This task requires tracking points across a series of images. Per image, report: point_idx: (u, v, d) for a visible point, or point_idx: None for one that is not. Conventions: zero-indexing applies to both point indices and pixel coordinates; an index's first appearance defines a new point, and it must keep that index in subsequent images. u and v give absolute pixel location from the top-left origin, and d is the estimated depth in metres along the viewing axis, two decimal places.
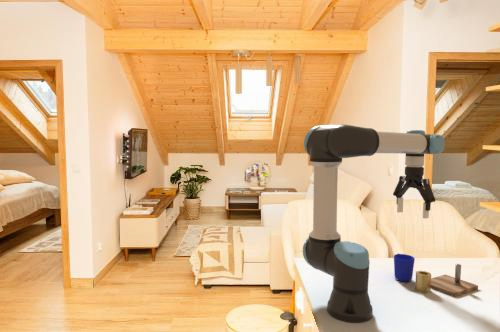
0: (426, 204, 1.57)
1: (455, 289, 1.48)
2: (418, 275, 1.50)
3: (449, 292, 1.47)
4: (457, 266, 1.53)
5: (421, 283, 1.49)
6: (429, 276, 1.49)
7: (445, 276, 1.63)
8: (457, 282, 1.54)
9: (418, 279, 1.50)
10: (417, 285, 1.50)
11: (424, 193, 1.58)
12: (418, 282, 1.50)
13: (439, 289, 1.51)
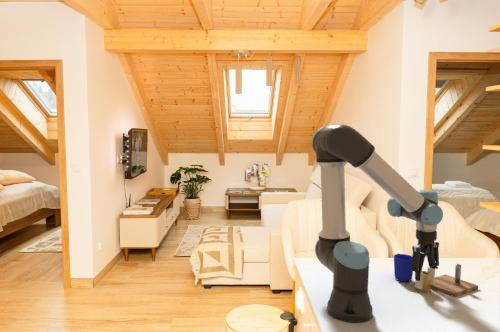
0: None
1: (455, 289, 1.48)
2: None
3: (449, 292, 1.47)
4: (457, 266, 1.53)
5: None
6: (429, 276, 1.49)
7: (445, 276, 1.63)
8: (457, 282, 1.54)
9: None
10: None
11: None
12: None
13: (439, 289, 1.51)
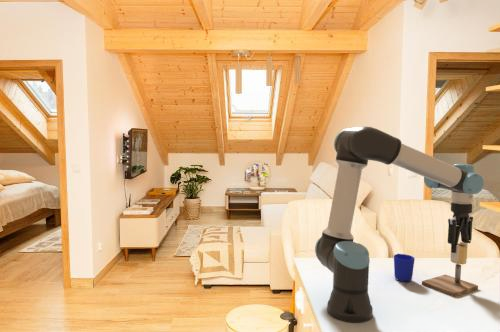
0: None
1: (455, 289, 1.48)
2: None
3: (449, 292, 1.47)
4: (457, 266, 1.53)
5: None
6: (465, 248, 1.51)
7: (445, 276, 1.63)
8: (457, 282, 1.54)
9: None
10: None
11: None
12: None
13: (439, 289, 1.51)
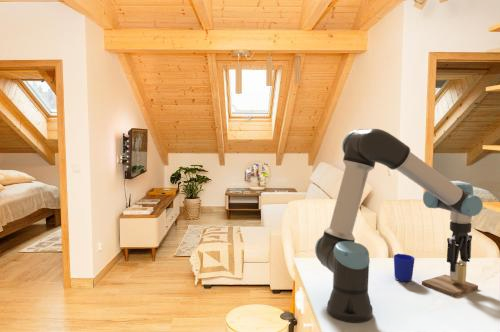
0: None
1: (455, 289, 1.48)
2: None
3: (449, 292, 1.47)
4: None
5: None
6: (464, 267, 1.52)
7: (445, 276, 1.63)
8: None
9: None
10: None
11: None
12: None
13: (439, 289, 1.51)
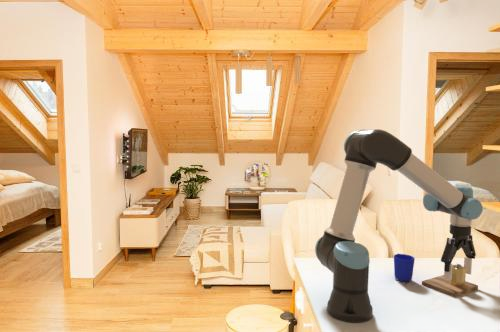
0: None
1: (455, 289, 1.48)
2: (453, 269, 1.53)
3: (449, 292, 1.47)
4: (457, 266, 1.53)
5: (456, 276, 1.52)
6: (464, 270, 1.52)
7: None
8: None
9: (453, 273, 1.53)
10: (452, 279, 1.54)
11: None
12: (453, 276, 1.53)
13: (439, 289, 1.51)
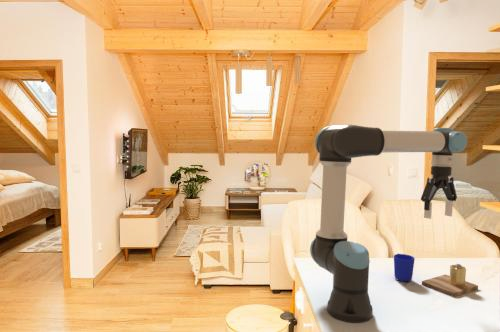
0: None
1: (455, 289, 1.48)
2: (453, 269, 1.53)
3: (449, 292, 1.47)
4: (457, 266, 1.53)
5: (456, 276, 1.52)
6: (464, 270, 1.52)
7: (445, 276, 1.63)
8: None
9: (453, 273, 1.53)
10: (452, 279, 1.54)
11: None
12: (453, 276, 1.53)
13: (439, 289, 1.51)
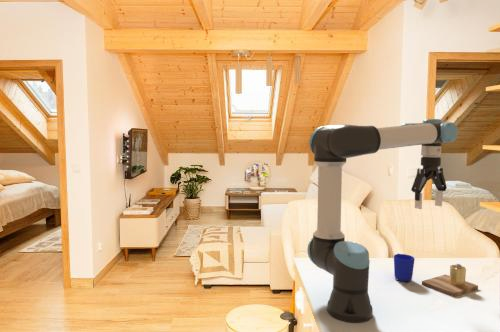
0: None
1: (455, 289, 1.48)
2: (453, 269, 1.53)
3: (449, 292, 1.47)
4: (457, 266, 1.53)
5: (456, 276, 1.52)
6: (464, 270, 1.52)
7: (445, 276, 1.63)
8: None
9: (453, 273, 1.53)
10: (452, 279, 1.54)
11: None
12: (453, 276, 1.53)
13: (439, 289, 1.51)
